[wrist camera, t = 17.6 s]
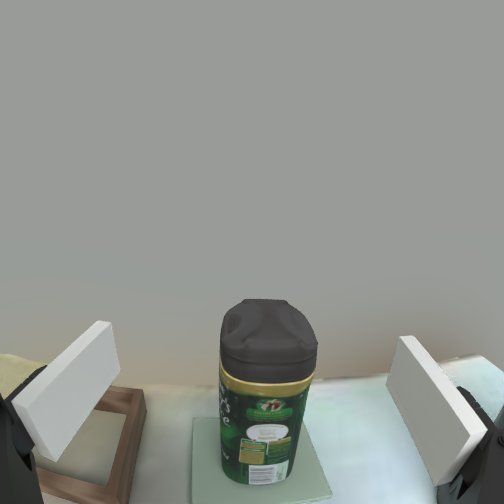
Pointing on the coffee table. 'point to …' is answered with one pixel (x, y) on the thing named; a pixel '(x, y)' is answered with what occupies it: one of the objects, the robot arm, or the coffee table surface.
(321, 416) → the coffee table surface
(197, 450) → the sage mat
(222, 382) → the coffee jar
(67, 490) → the walnut caddy
